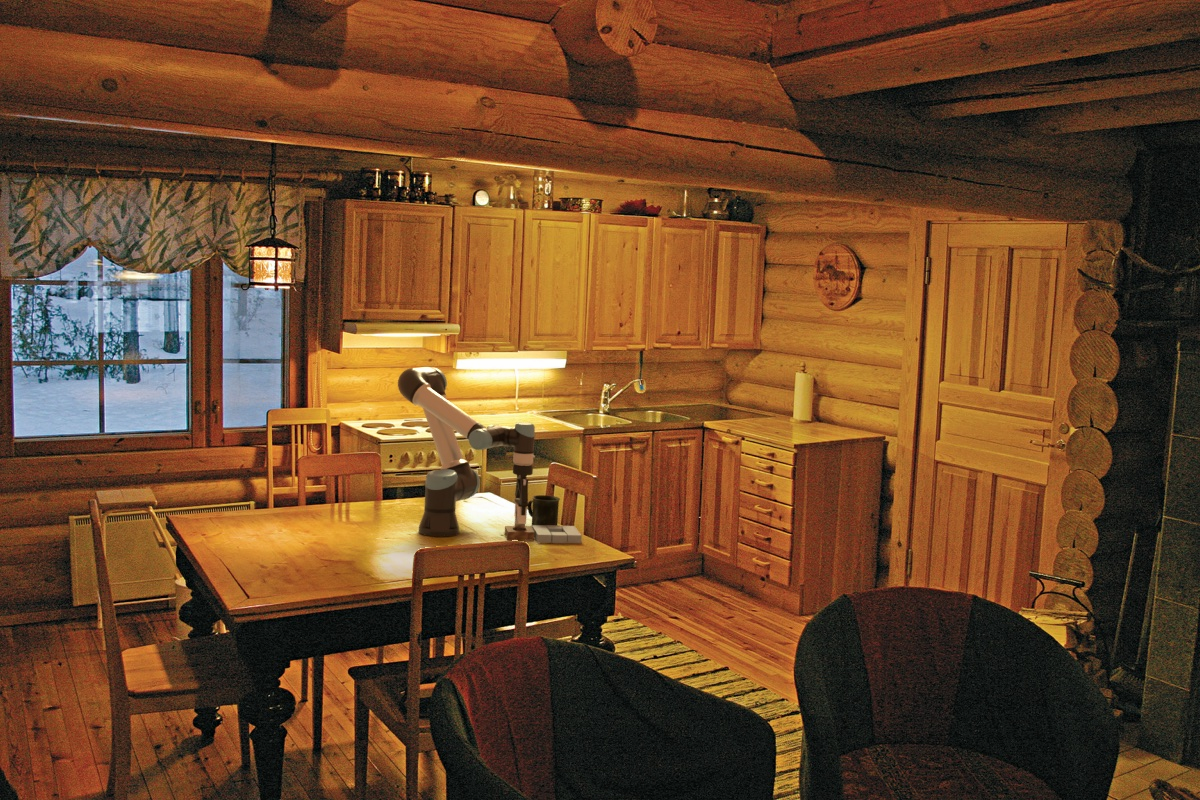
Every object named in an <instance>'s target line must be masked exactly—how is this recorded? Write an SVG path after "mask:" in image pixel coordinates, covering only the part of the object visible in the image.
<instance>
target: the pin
mask: <svg viewBox="0 0 1200 800" xmlns="http://www.w3.org/2000/svg"><path fill="white" fill-rule="evenodd" d="M515 503H516V508H515V507H514V526H515V527H514V530H518V531H525V526H526V524H519V507H518V505H519V504H520V498H515V497H514V504H515Z"/></svg>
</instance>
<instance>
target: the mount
mask: <svg viewBox="0 0 1200 800" xmlns="http://www.w3.org/2000/svg"><path fill="white" fill-rule="evenodd" d="M514 527H515V525H505V526H504V535H505V537H506V539H507V541H509V540H510V541H512V540H513V541H515V540H514V539H518V540H517V541H521V540H522V541H534V540H535V538H534V531H533V529H532V525H527V526H526V525H525V531H518V530H514ZM525 539H526V540H525Z"/></svg>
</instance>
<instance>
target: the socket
mask: <svg viewBox="0 0 1200 800" xmlns="http://www.w3.org/2000/svg"><path fill="white" fill-rule="evenodd" d="M531 527H532V529H533V531H534V540H535V541H536V543H538V544H539V543H540V544H541V543H543V544H544V543H545V544H548V543H549V544H582V534H581V532H580V531H579V530H578V529H577V528H576V526H575V525H558V524H557V525H532V524H531Z"/></svg>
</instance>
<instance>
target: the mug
mask: <svg viewBox="0 0 1200 800" xmlns="http://www.w3.org/2000/svg"><path fill="white" fill-rule="evenodd" d="M560 500H561V499H560V497H559V496H554V495H546V494H545V495H544V494H543V495H542V494H541V495H540V494H539V495H533V496H532V497H531V500H528V506H527V511H528V515H529V517H531V526H532V525H558V522H559V521H558V520H559V507H560V503H559V502H560Z"/></svg>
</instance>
